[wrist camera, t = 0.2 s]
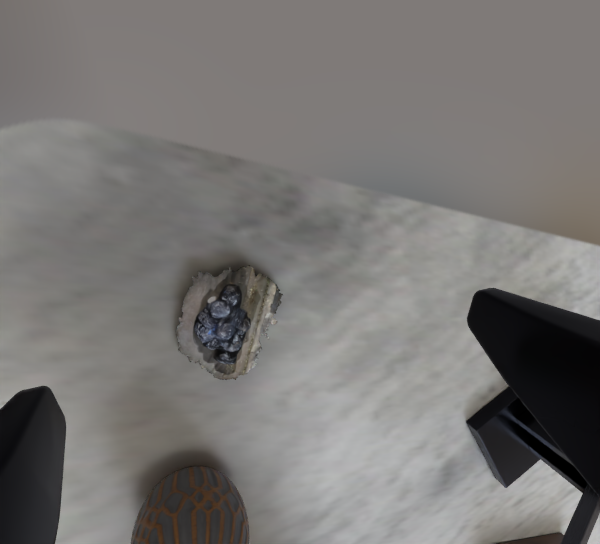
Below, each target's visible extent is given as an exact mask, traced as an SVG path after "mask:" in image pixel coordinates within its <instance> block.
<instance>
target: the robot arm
mask: <svg viewBox="0 0 600 544" xmlns="http://www.w3.org/2000/svg"><path fill="white" fill-rule="evenodd" d="M467 323H468V326H469V328H470V330H471V331H472V333H473V334H474V336H475V337H476V339H477V340H478V342H479V343H480V345H481V346H482V348H483V349H484V351H485V352H486V354H487V355H488V357H489V358H490V360H491V361H492V363H493V364H494V366H495V367H496V369H497V370H498V371H499V373H500V374H501V376H502V377H503V379H504V380H505V381H506V383H507V384H508V385H509V386H510V388H511V389H512V390H513V392H514V393H515V394H516V395H517V396H518V398H519V399H520V400H521V401H522V403H523V404H524V405H525V406H526V408H527V409H528V410H529V411H530V412H531V414H532V415H533V416H534V417H535V419H536V420H537V421H538V422H539V424H540V425H541V426H542V427H543V428H544V430H545V431H546V432H547V433H548V435H549V436H550V437H551V438H552V440H553V441H554V442H555V443H556V444H557V446H558V447H559V448H560V449H561V451H562V452H563V453H564V454H565V456H566V457H567V458H568V459H569V460H570V462H571V463H572V464H573V465H574V467H575V468H576V469H577V470H578V472H579V473H580V474H581V475H582V476H583V478H584V479H585V480H586V481H587V483H588V484H589V485H590V486H591V488H592V489H593V490H594V491H595V492H596V494H597V495H598V496H599V497H600V320H596V319H593V318H590V317H587V316H583V315H580V314H577V313H574V312H570V311H567V310H564V309H561V308H557V307H554V306H551V305H548V304H544V303H541V302H538V301H535V300H532V299H528V298H525V297H522V296H519V295H515V294H512V293H509V292H506V291H502V290H499V289H496V288H488V289H483V290H479V291H477V292H476V293H475V294H474V296H473V300H472V303H471V306H470V310H469V313H468V317H467ZM65 438H66V421H65V417H64V414H63V412H62V410H61V408H60V406H59V404H58V402H57V400H56V398H55V396H54V394H53V393H52V391H51V389H50V388H49V387H47V386H40V387H35V388H31V389H26V390H22V391H20V392H18V393H17V394H16V395H14V396H13V397H12V398H11V399H10V400H9V401H8V402H7V403H6V404H5V405H4V406H3V407H2V408H1V409H0V544H55V540H56V535H57V529H58V523H59V516H60V506H61V494H62V480H63V466H64V452H65Z"/></svg>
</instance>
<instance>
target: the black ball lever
mask: <svg viewBox="0 0 600 544" xmlns="http://www.w3.org/2000/svg"><path fill="white" fill-rule="evenodd" d="M585 481H586V480H585ZM599 513H600V497H599V496H598V495H597V494H596V492H595V491H594V490H593V489H592V488H591V486H590V485H589V484H588V483H587V486H586V488H585V490H584V492H583V495H582V497H581V499H580V501H579V503H578V506H577V508H576V510H575V512H574V515H573V517H572V519H571V521H570V524H569V526H568V528H567V530H566V532H565V535H564V537H563V539H562V541H561V544H587V542H588V539H589V537H590V535H591V532H592V530H593V527H594V525H595V523H596V520H597V518H598V515H599Z"/></svg>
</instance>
